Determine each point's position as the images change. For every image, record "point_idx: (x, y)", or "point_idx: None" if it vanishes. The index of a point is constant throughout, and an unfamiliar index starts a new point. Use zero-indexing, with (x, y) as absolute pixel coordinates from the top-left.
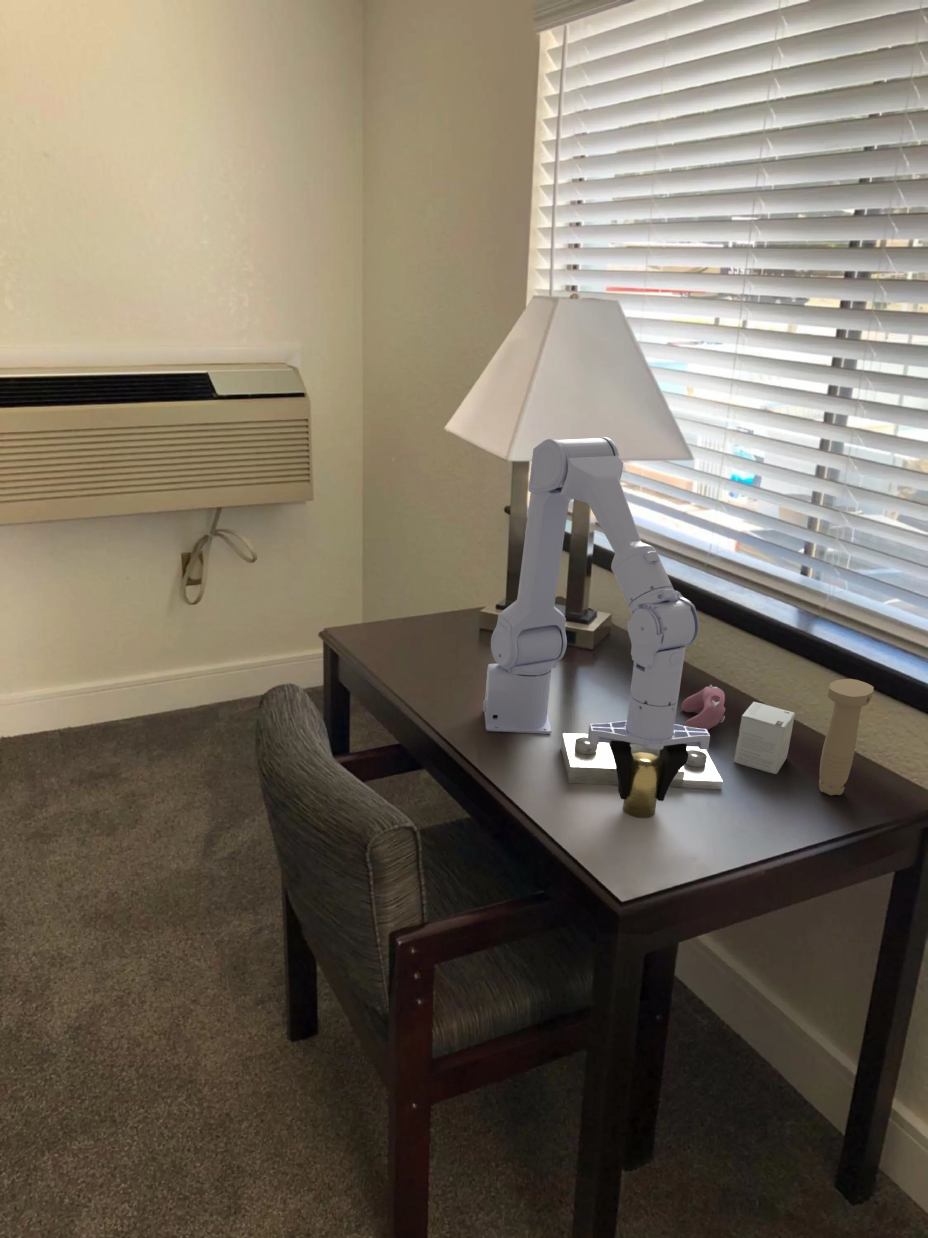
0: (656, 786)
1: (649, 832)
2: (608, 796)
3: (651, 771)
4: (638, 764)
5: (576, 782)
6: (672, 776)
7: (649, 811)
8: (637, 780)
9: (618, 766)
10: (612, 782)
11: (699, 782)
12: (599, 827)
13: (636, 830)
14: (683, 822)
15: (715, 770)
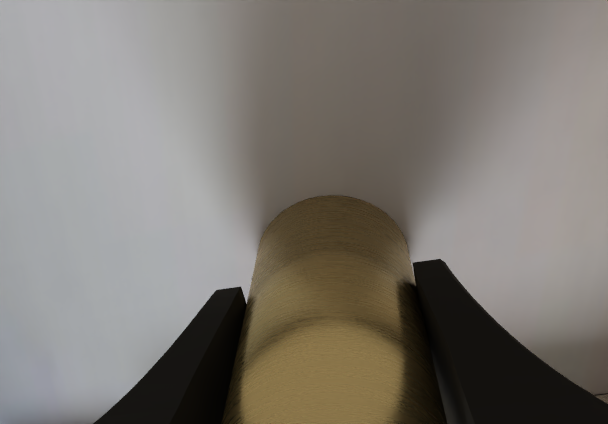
0: (246, 336)
1: (277, 72)
2: None
3: (282, 409)
4: None
5: (603, 398)
6: (128, 402)
7: (283, 225)
8: (379, 341)
9: (594, 404)
10: None
11: None
12: (556, 50)
13: (347, 74)
14: (120, 207)
15: None
